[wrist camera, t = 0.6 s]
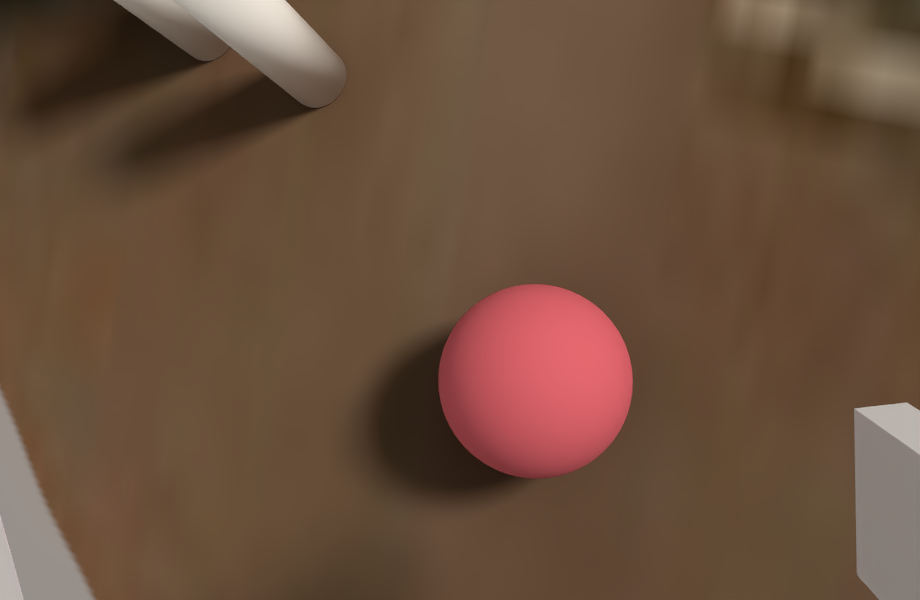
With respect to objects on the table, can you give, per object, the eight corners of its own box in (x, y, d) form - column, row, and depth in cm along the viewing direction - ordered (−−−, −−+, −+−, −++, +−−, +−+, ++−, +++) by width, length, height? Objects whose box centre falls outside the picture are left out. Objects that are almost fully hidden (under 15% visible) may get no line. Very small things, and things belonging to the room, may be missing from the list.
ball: (672, 398, 25) (677, 401, 20) (531, 502, 26) (496, 535, 20) (562, 261, 27) (537, 227, 21) (432, 364, 27) (373, 358, 22)
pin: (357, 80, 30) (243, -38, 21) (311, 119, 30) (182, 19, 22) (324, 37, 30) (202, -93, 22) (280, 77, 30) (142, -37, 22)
